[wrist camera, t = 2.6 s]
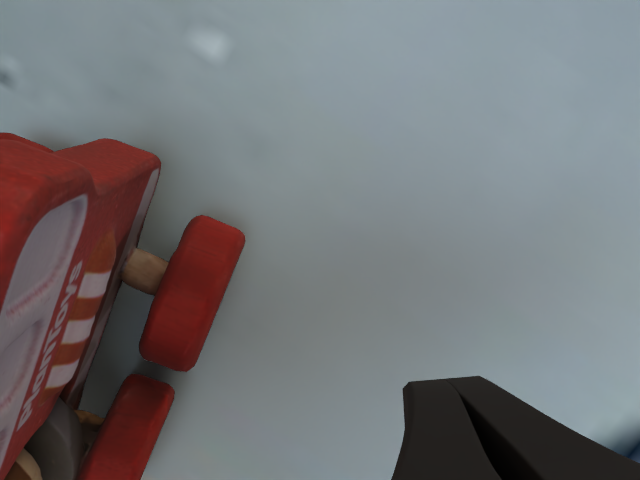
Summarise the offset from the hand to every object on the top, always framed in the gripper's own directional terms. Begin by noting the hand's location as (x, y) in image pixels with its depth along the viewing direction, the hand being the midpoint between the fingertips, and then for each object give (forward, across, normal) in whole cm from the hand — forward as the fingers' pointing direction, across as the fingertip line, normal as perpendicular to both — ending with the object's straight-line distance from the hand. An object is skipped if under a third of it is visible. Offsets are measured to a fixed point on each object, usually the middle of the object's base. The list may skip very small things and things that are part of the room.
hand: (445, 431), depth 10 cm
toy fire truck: (+8, +9, 0) cm, 12 cm away
